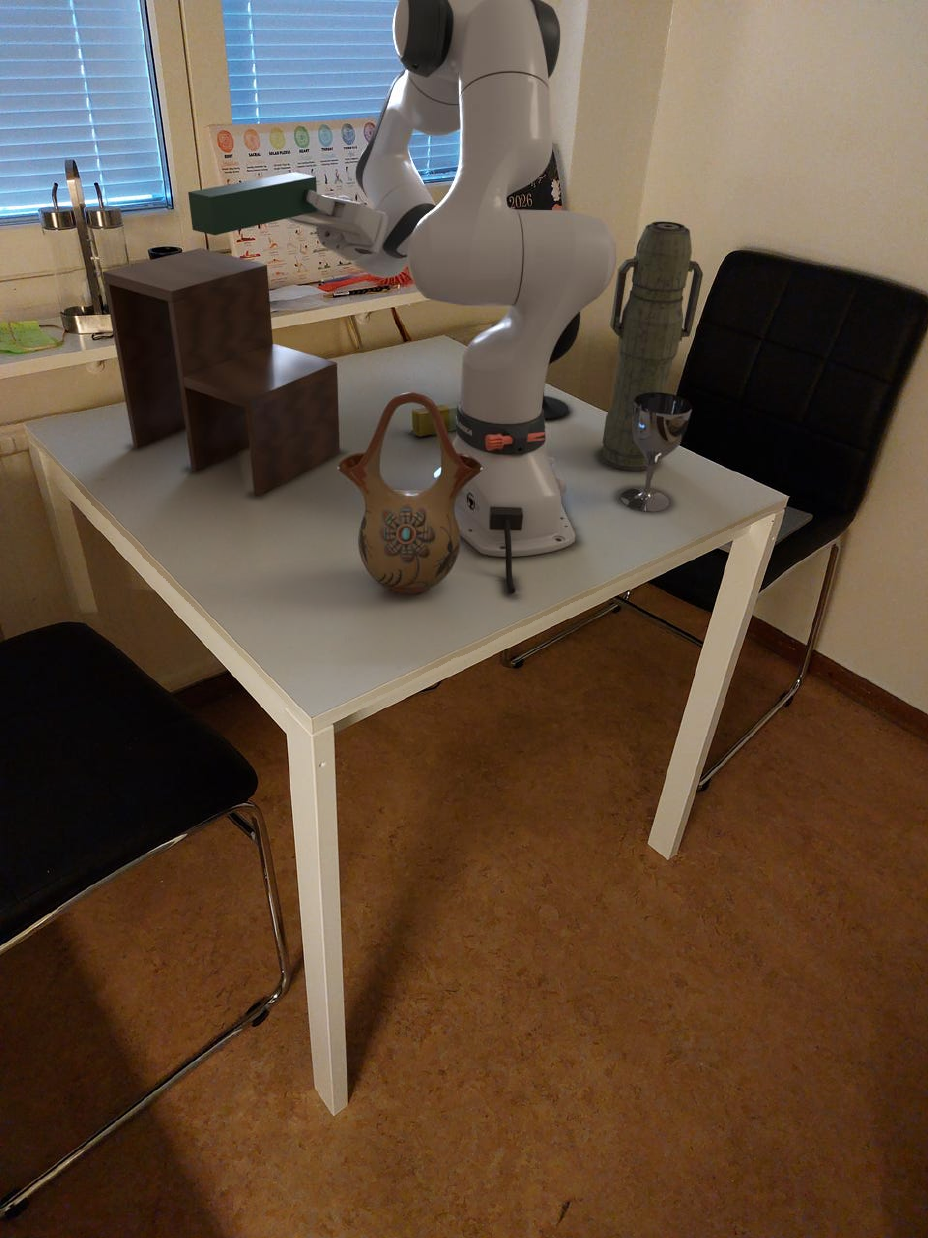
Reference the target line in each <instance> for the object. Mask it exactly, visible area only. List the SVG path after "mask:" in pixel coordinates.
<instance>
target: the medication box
mask: <svg viewBox="0 0 928 1238" xmlns="http://www.w3.org/2000/svg"><path fill="white" fill-rule="evenodd" d="M460 401H461V400H459V401H453V402H449V403H444V404H436V406H437V408H438V410H439V412H440V415H441V417H442V420H443V422H444V425H445V428H446V431H447V432H452V431H456V421H455V418H456V412H457V406H458V403H459V402H460ZM411 428H412V429H411V433H412V434H413V435H415V436H417V437H426V436H431V435H437V434H436V431H435V427H434V424H433V422H432V419H431V416H430V414H429V412H428V410H427V409H426V408H425V407H421V408H416V409H415V408H414V409H412V410H411Z"/></svg>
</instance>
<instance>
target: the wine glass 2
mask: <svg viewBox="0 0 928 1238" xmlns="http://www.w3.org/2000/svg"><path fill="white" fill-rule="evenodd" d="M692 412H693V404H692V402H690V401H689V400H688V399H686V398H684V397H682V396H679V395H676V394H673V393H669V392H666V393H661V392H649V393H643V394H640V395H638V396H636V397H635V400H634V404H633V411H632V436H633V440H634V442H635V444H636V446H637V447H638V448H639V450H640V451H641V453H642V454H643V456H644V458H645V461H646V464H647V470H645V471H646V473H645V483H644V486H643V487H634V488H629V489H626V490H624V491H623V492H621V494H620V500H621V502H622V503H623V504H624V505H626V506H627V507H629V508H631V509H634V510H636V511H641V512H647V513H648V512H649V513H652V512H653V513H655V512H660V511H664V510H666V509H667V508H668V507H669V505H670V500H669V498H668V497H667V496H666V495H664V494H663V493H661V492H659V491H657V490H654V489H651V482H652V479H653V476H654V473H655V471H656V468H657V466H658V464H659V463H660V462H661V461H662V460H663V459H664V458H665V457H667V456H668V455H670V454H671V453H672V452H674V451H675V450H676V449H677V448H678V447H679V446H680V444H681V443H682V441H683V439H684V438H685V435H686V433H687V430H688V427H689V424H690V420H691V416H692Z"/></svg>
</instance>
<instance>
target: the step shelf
mask: <svg viewBox="0 0 928 1238" xmlns="http://www.w3.org/2000/svg"><path fill="white" fill-rule="evenodd" d="M101 273H102V278H103V283H104V289H105V295H106V301H107V306H108V312H109V317H110V321H111V327H112V334H113V339H114V345H115V349H116V355H117V360H118V368H119V372H120V378H121V379H120V380H121V383H122V384H121V385H122V389H123V395H124V400H125V404H126V405H125V406H126V411H127V417H128V422H129V428H130V434H131V439H132V444H133V445H132V446H133V447H134V448H135V449H140V448H142V447H144V446H147V445H149V444H152V443H154V442H157V441H159V440H161V439H163V438H164V439H165V438H166V437H168V436H170V435H171V436H172V435H173V434H176V433H178V432H180V431H183V430H185V432H186V440H187V441H186V442H187V447H188V454H189V462H190V468H191V470H192V471H194V472H198V471H201V470H202V469H205V468H208V467H209V466H211V465H213V464H215V463H217V462H220V461H221V460H224V459H226V458H228V457H230V456H232V455H234V454H237V453H238V452H241V451H243V450H245V449H247V448H249V455H250V465H251V475H252V486H253V494H254V496H257V497H261V496H263V495H264V494H267V493H269V492H270V491H272V490H275V489H276V488H278V487H280V486H282V485H284V484H285V483H288V482H289V481H291V480H293V479H296V478H297V477H298V476H301V475H302V474H304V473H306V472H308V471H310V470H312V469H313V468H316V467H317V466H319V465H321V464H323V463H325V462H326V461H328V460H330V459H333V458H334V457H336V456H338V455H340V454H341V442H340V441H341V440H340V413H339V412H340V411H339V380H338V362H336V361H333V360H329V359H327V358H326V359H325V358H322V357H319V356H316V355H312V354H309V353H307V352H303V351H299V350H296V349H292V348H290V347H286V346H282V345H279V344H275V343H274V339H273V338H274V337H273V327H272V326H273V325H272V312H271V300H270V299H271V298H270V286H269V275H268V274H269V273H268V264H265V263H261V262H257V261H252V260H249V259H245V258H241V257H239V256H238V257H237V256H233V255H229V254H225V253H221V252H217V251H213V250H210V249H205V248H201V247H199V248H195V249H190V250H186V251H183V252H178V253H174V254H170V255H166V256H162V257H157V258H154V259H149V260H145V261H142V262H138V263H133V264H129V265H124V266H121V267H120V266H119V267H117V268H113V269H108V270H104V271H102V272H101Z"/></svg>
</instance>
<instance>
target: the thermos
mask: <svg viewBox="0 0 928 1238" xmlns="http://www.w3.org/2000/svg"><path fill="white" fill-rule="evenodd" d="M691 238H692V237H691V230H690V229H689V228H688V227H686V225H685V224H682V223H678V222H674V221H664V220H663V221H662V220H660V221H659V220H658V221H653V222H651V223H650V224H646V225H645V227H644V229H643V231H642V233H641V236H640V237H639V240H638V242H637V245H636V250H635V255H634V256H633V257H632V258H629V259H628V258H627V259H625V260H624V261H623V262H622V264H621V265H620V266H619V267H618V269H617V276H616V283H615V288H614V289H615V290H614V297H613V302H612V303H613V304H612V310H611V317H610V322H609V323H610V324H609V326H610V328H611V329H612V330H613V332H614V333H615V334H616V336H618V340H617V351H618V361H617V366H616V367H617V368H616V375H615V381H614V388H613V392H612V393H613V394H612V401H611V407H610V409H609V410H608V412H607V414H606V416H605V421H604V429H603V435H602V436H603V437H602V444H603V445H602V451H601V458H600V459H601V460H602V461H603V462H604V463H605V464H606V465H607V466H609V467H612V468H614V469H618V470H621V471H626V472H627V471H628V472H643V471H647V464H646V461H645V458H644V456H643V454H642V453H641V451H640V450H639V448H638V447H637V446H636V444H635V442H634V440H633V436H632V411H633V404H634V400H635V397H636V396H638V395H640V394H643V393H649V392H661V393H667V390H668V385H669V381H670V376H671V375H670V374H671V370H672V364H673V361H674V359H675V357H676V356H677V354H678V351H679V345H680V342H682V341H683V338H688V337H690V335H691V333H692V329H693V325H694V322H695V316H696V313H697V312H696V311H697V307H698V303H699V302H698V301H699V298H700V297H699V296H700V292H701V288H702V287H701V286H702V281H703V276H704V273H703V271H702V269H701V266H700V264H699V263H698V262H697V261H696V260H691V259H692V253H693V249H692V247H693V246H692V239H691ZM631 268H633V270H632V277H631V283H632V284H631V289H630V290H629V295H628V299H627V301H626V303H625V306H624V308H623V301H624V294H625V289H626V281H627V276H628V272H629V271H630V269H631ZM691 272H692V273H693V275H692V280H691V285H690V289H689V294H688V295H689V296H688V301H687V306H686V311H685V316H684V313H683V301H684V295H683V294H684V289H685V288H686V284H687V279H688V274H689V273H691ZM622 308H623V310H622Z"/></svg>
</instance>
